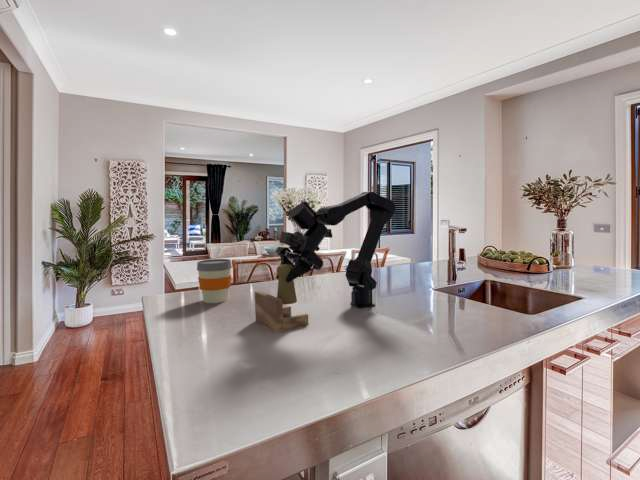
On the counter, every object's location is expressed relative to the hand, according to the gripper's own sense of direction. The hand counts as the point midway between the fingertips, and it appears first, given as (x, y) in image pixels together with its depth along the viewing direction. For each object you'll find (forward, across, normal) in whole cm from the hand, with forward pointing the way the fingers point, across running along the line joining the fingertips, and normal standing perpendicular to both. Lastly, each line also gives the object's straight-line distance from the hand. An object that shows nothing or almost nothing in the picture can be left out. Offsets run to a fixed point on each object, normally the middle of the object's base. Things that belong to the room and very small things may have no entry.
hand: (281, 280), depth 99 cm
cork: (+4, 0, +6) cm, 7 cm away
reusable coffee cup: (+14, -41, +5) cm, 43 cm away
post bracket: (+8, -1, +10) cm, 13 cm away
